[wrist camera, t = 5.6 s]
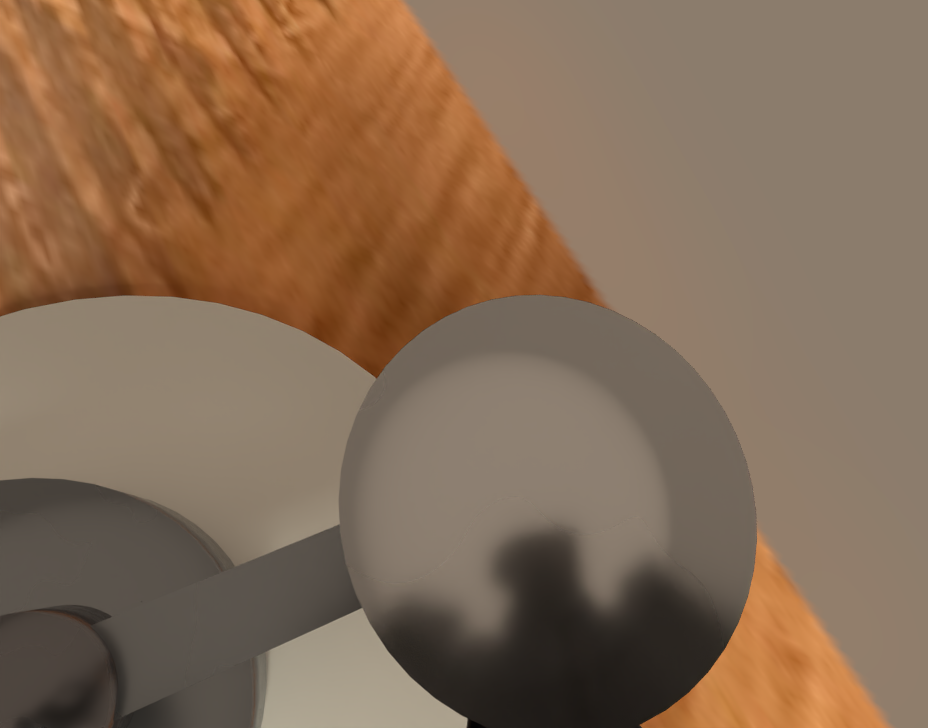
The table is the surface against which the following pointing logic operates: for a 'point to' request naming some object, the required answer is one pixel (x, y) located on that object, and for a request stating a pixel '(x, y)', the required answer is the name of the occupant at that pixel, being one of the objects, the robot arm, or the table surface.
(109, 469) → the stand
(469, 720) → the robot arm
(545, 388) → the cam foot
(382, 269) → the table surface
